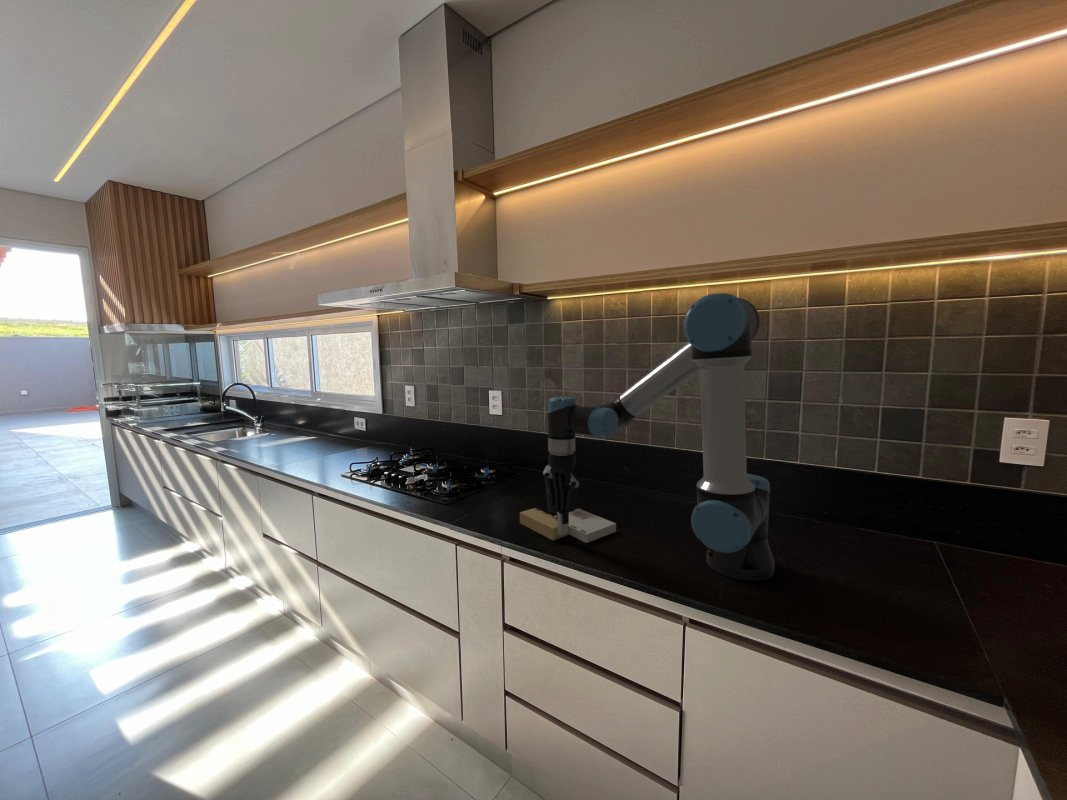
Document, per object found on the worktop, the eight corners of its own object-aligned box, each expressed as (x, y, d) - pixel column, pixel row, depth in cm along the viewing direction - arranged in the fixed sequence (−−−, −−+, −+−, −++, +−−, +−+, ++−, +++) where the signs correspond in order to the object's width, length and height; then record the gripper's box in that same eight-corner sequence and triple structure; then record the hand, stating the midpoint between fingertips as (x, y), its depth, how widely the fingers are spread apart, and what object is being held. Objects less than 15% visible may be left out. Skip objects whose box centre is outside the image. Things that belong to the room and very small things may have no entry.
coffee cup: (538, 512, 144) (538, 468, 143) (551, 503, 153) (550, 462, 151) (565, 517, 140) (564, 472, 138) (576, 507, 148) (576, 465, 147)
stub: (568, 534, 127) (568, 522, 126) (553, 540, 123) (552, 527, 123) (535, 518, 139) (534, 507, 139) (519, 523, 136) (519, 511, 135)
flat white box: (615, 531, 129) (616, 522, 128) (586, 543, 121) (586, 533, 121) (578, 515, 141) (578, 507, 141) (550, 525, 134) (550, 516, 134)
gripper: (588, 454, 118) (588, 537, 121) (556, 446, 129) (557, 523, 131) (567, 459, 114) (568, 545, 117) (536, 450, 124) (538, 529, 127)
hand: (562, 533), depth 124 cm, fingers closed
